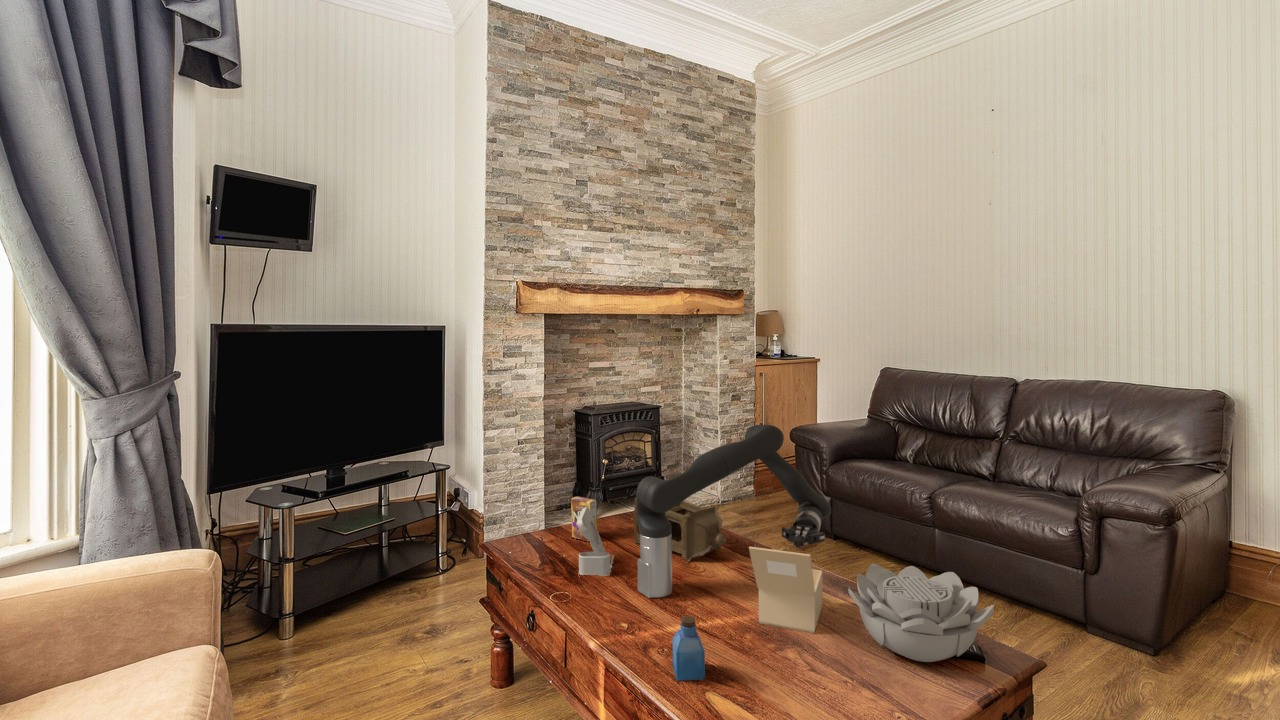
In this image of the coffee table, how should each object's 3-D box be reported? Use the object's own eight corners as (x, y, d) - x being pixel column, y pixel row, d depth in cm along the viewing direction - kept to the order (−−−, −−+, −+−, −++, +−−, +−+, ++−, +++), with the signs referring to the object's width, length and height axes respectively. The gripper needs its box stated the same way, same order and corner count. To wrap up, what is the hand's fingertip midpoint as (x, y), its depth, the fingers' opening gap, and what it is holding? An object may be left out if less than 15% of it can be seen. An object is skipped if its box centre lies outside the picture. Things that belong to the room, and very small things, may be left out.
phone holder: (609, 577, 188) (609, 520, 187) (577, 577, 188) (576, 520, 187) (614, 556, 205) (613, 504, 204) (584, 556, 205) (583, 504, 205)
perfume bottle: (672, 665, 138) (672, 613, 138) (699, 663, 139) (699, 612, 138) (676, 680, 132) (676, 626, 131) (704, 679, 133) (704, 625, 132)
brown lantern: (738, 566, 202) (744, 510, 203) (704, 574, 190) (710, 515, 191) (664, 538, 228) (669, 489, 228) (629, 543, 216) (635, 491, 216)
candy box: (571, 539, 222) (570, 498, 222) (578, 536, 226) (577, 495, 225) (590, 543, 218) (589, 501, 217) (597, 540, 221) (597, 499, 220)
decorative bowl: (830, 618, 159) (830, 562, 159) (945, 619, 158) (946, 562, 158) (870, 686, 129) (871, 617, 128) (1013, 687, 128) (1014, 617, 127)
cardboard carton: (770, 598, 172) (770, 563, 171) (822, 606, 166) (822, 570, 166) (758, 623, 157) (758, 585, 157) (814, 633, 152) (814, 594, 151)
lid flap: (749, 546, 148) (748, 548, 147) (810, 554, 142) (810, 556, 141) (757, 585, 157) (757, 587, 156) (815, 594, 151) (815, 597, 151)
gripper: (785, 511, 189) (774, 528, 173) (829, 515, 184) (822, 533, 168) (785, 534, 189) (774, 554, 174) (829, 540, 184) (822, 560, 168)
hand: (798, 544), depth 171 cm, fingers closed
